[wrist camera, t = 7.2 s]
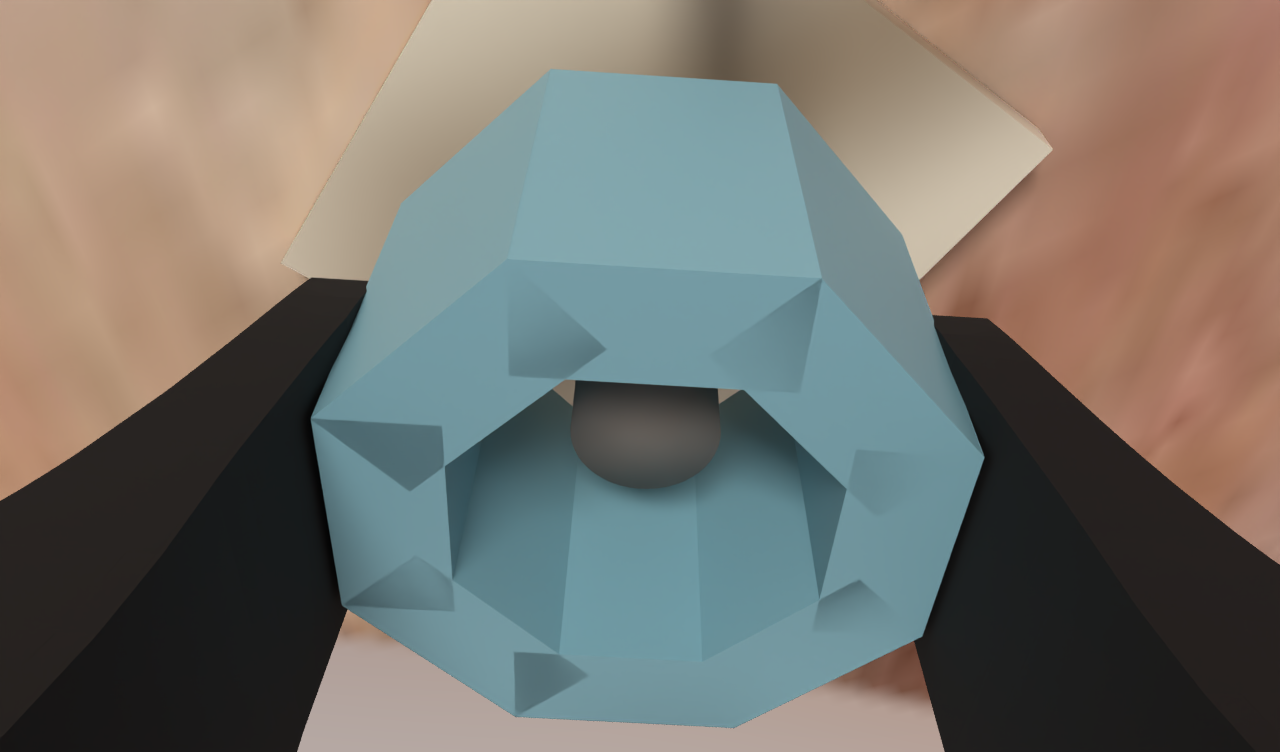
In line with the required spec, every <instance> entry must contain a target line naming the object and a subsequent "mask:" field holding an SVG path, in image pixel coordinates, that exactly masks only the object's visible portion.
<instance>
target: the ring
mask: <svg viewBox="0 0 1280 752" xmlns="http://www.w3.org/2000/svg"><path fill="white" fill-rule="evenodd" d="M366 289H367V292H366V294H365V297H364V299H363V301H362V304H361V306H360V309H359V311H358V313H357V316H356V318H355V320H354V323H353V325H352V328H351V330H350V332H349V335H348V337H347V339H346V341H345V343H344V345H343V347H342V349H341V351H340V353H339V355H338V357H337V359H336V361H335V363H334V365H333V366H332V369H331V371H330V374H329V376H328V378H327V381H326V383H325V385H324V388H323V390H322V393H321V395H320V397H319V400H318V402H317V404H316V407H315V409H314V412H313V414H312V416H311V424H312V430H313V436H314V442H315V448H316V454H317V460H318V466H319V472H320V478H321V484H322V490H323V496H324V502H325V508H326V513H327V519H328V525H329V531H330V537H331V543H332V549H333V555H334V561H335V567H336V573H337V579H338V585H339V591H340V597H341V603H342V606H343V607H345V608H347V609H348V610H350V611H351V612H353V613H354V614H356V615H357V616H359V617H361V618H362V619H364V620H365V621H367V622H368V623H370V624H371V625H373V626H375V627H376V628H378V629H379V630H381V631H382V632H384V633H385V634H387V635H389V636H390V637H392V638H393V639H395V640H396V641H398V642H400V643H401V644H403V645H404V646H406V647H407V648H409V649H410V650H412V651H414V652H415V653H417V654H418V655H420V656H421V657H423V658H424V659H426V660H428V661H429V662H431V663H432V664H434V665H436V666H437V667H438V668H440V669H442V670H443V671H445V672H446V673H448V674H449V675H451V676H452V677H454V678H456V679H457V680H459V681H460V682H462V683H463V684H465V685H467V686H468V687H470V688H472V689H473V690H474V691H476V692H477V693H479V694H481V695H482V696H484V697H485V698H487V699H488V700H490V701H491V702H493V703H495V704H496V705H498V706H499V707H501V708H502V709H504V710H506V711H507V712H509V713H510V714H512V715H513V716H515V717H529V718H549V719H569V720H587V721H607V722H627V723H628V722H629V723H646V724H666V725H685V726H705V727H725V728H735V727H737V726H739V725H741V724H743V723H746V722H747V721H750V720H752V719H754V718H756V717H758V716H760V715H762V714H764V713H766V712H768V711H770V710H772V709H774V708H776V707H778V706H780V705H782V704H785V703H787V702H789V701H791V700H793V699H795V698H797V697H799V696H801V695H803V694H805V693H807V692H809V691H811V690H813V689H815V688H817V687H819V686H822V685H824V684H826V683H828V682H830V681H832V680H834V679H836V678H838V677H840V676H842V675H844V674H846V673H848V672H850V671H852V670H854V669H856V668H859V667H861V666H863V665H865V664H867V663H869V662H871V661H873V660H875V659H877V658H879V657H881V656H883V655H885V654H887V653H889V652H891V651H893V650H896V649H898V648H900V647H902V646H904V645H906V644H908V643H910V642H912V641H914V640H916V639H918V638H920V637H922V636H923V633H924V630H925V627H926V624H927V621H928V618H929V616H930V613H931V610H932V607H933V604H934V601H935V598H936V595H937V593H938V590H939V587H940V584H941V581H942V578H943V575H944V572H945V570H946V567H947V564H948V561H949V558H950V555H951V552H952V549H953V547H954V544H955V541H956V538H957V535H958V532H959V529H960V526H961V523H962V521H963V518H964V515H965V512H966V509H967V506H968V503H969V500H970V498H971V495H972V492H973V489H974V486H975V483H976V480H977V477H978V475H979V472H980V469H981V466H982V463H983V460H984V458H985V457H984V454H983V452H982V449H981V446H980V444H979V441H978V438H977V436H976V433H975V430H974V427H973V425H972V422H971V419H970V417H969V414H968V411H967V409H966V406H965V404H964V401H963V399H962V397H961V394H960V392H959V390H958V387H957V385H956V383H955V380H954V378H953V376H952V373H951V371H950V368H949V365H948V363H947V360H946V357H945V354H944V352H943V349H942V346H941V344H940V341H939V338H938V335H937V333H936V330H935V327H934V319H933V317H932V314H931V311H930V308H929V306H928V303H927V300H926V298H925V295H924V292H923V290H922V287H921V284H920V281H919V279H918V276H917V273H916V271H915V268H914V265H913V262H912V260H911V257H910V254H909V252H908V249H907V246H906V244H905V241H904V238H903V235H902V234H901V232H900V231H899V230H898V229H897V228H896V226H895V225H894V224H893V223H892V222H891V220H890V219H889V218H888V217H887V216H886V214H885V213H884V212H883V211H882V210H881V208H880V207H879V206H878V205H877V204H876V202H875V201H874V200H873V199H872V198H871V196H870V195H869V194H868V193H867V192H866V190H865V189H864V188H863V187H862V185H861V184H860V183H859V182H858V181H857V179H856V178H855V177H854V176H853V175H852V173H851V172H850V171H849V170H848V169H847V167H846V166H845V165H844V164H843V163H842V161H841V160H840V159H839V158H838V157H837V155H836V154H835V153H834V152H833V151H832V149H831V148H830V147H829V146H828V145H827V143H826V142H825V141H824V140H823V139H822V137H821V136H820V135H819V134H818V133H817V131H816V130H815V129H814V128H813V126H812V125H811V124H810V123H809V122H808V120H807V119H806V118H805V117H804V116H803V114H802V113H801V112H800V111H799V110H798V108H797V107H796V106H795V105H794V104H793V102H792V101H791V100H790V99H789V98H788V96H787V95H786V94H785V93H784V92H783V90H782V89H781V88H780V87H779V86H778V84H772V83H757V82H742V81H727V80H711V79H696V78H681V77H666V76H651V75H635V74H620V73H605V72H590V71H574V70H559V69H550V70H549V71H548V72H547V73H546V74H544V75H543V76H542V77H541V78H540V79H539V80H538V81H537V82H536V83H534V84H533V85H532V86H531V87H530V88H529V89H528V90H527V91H526V92H524V93H523V94H522V95H521V96H520V97H519V98H518V99H517V100H516V101H514V102H513V103H512V104H511V105H510V106H509V107H508V108H507V109H506V110H504V111H503V112H502V113H501V114H500V115H499V116H498V117H497V118H495V119H494V120H493V121H492V122H491V123H490V124H489V125H488V126H487V127H485V128H484V129H483V130H482V131H481V132H480V133H479V134H478V135H477V136H475V137H474V138H473V139H472V140H471V141H470V142H469V143H468V144H467V145H465V146H464V147H463V148H462V149H461V150H460V151H459V152H458V153H457V154H455V155H454V156H453V157H452V158H451V159H450V160H449V161H448V162H447V163H445V164H444V165H443V166H442V167H441V168H440V169H439V170H438V171H436V172H435V173H434V174H433V175H432V176H431V177H430V178H429V179H428V180H426V181H425V182H424V183H423V184H422V185H421V186H420V187H419V188H418V189H416V190H415V191H414V192H413V193H412V194H411V195H410V196H409V197H408V198H406V199H405V200H404V201H403V202H402V203H401V205H400V208H399V210H398V212H397V215H396V217H395V219H394V222H393V224H392V227H391V229H390V231H389V234H388V236H387V238H386V241H385V243H384V245H383V248H382V250H381V253H380V255H379V257H378V260H377V262H376V264H375V267H374V269H373V272H372V274H371V276H370V279H369V281H368V283H367V286H366ZM565 379H567V380H584V381H601V382H618V383H635V384H652V385H669V386H686V387H703V388H720V389H737V390H740V391H738V392H736V393H735V394H733V395H732V396H730V397H729V398H727V399H726V400H724V401H723V402H721V403H720V404H719V413H720V427H721V436H720V442H719V446H718V449H717V451H716V453H715V455H714V457H713V458H712V460H711V461H710V462H709V463H708V465H707V466H706V467H705V468H704V469H702V470H701V471H700V472H699V473H697V474H696V475H694V476H693V477H691V478H689V479H687V480H686V481H683V482H681V483H678V484H676V485H672V486H668V487H663V488H656V489H637V488H629V487H625V486H620V485H617V484H614V483H612V482H609V481H607V480H605V479H603V478H601V477H600V476H598V475H596V474H595V473H594V472H592V471H591V470H590V469H589V468H588V467H587V466H586V465H585V464H584V463H583V462H582V461H581V460H580V458H579V457H578V455H577V453H576V452H575V450H574V447H573V444H572V440H571V433H570V427H571V418H572V409H573V406H572V405H571V404H569V403H568V402H567V401H566V400H565V399H564V398H562V397H561V396H560V395H559V394H558V393H557V392H555V391H554V390H553V388H554V387H555V386H557V385H558V384H560V383H561V382H562V381H564V380H565Z"/></svg>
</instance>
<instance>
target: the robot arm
mask: <svg viewBox="0 0 1280 752" xmlns="http://www.w3.org/2000/svg"><path fill="white" fill-rule="evenodd" d="M367 283H368V281H363V280H346V279H330V278H314V277H312V278H310V279H309V280H308V281H306V282H305V283H303V284H302V285H301V286H299V287H298V288H297V289H295V290H294V291H293V292H291V293H290V294H289V295H288V296H286V297H285V298H284V299H283V300H281V301H280V302H279V303H278V304H276V305H275V306H274V307H273V308H271V309H270V310H269V311H268V312H266V313H265V314H264V315H263V316H261V317H260V318H259V319H258V320H257V321H255V322H254V323H253V324H252V325H250V326H249V327H248V328H247V329H245V330H244V331H243V332H242V333H240V334H239V335H238V336H237V337H235V338H234V339H233V340H232V341H230V342H229V343H228V344H227V345H225V346H224V347H223V348H221V349H220V350H219V351H218V352H216V353H215V354H214V355H212V356H211V357H210V358H209V359H207V360H206V361H205V362H203V363H202V364H201V365H200V366H198V367H197V368H196V369H194V370H193V371H192V372H190V373H189V374H188V375H187V376H185V377H184V378H183V379H181V380H180V381H179V382H178V383H176V384H175V385H174V386H172V387H171V388H170V389H168V390H167V391H166V392H164V393H163V394H162V395H160V396H159V397H157V398H156V399H154V400H153V401H152V402H150V403H149V404H147V405H146V406H144V407H143V408H142V409H140V410H139V411H137V412H136V413H134V414H133V415H132V416H130V417H129V418H127V419H126V420H124V421H123V422H122V423H120V424H119V425H117V426H116V427H114V428H113V429H112V430H110V431H109V432H107V433H106V434H104V435H103V436H102V437H100V438H99V439H97V440H96V441H94V442H93V443H92V444H90V445H89V446H87V447H86V448H84V449H83V450H82V451H80V452H79V453H77V454H76V455H74V456H73V457H71V458H70V459H68V460H66V461H65V462H63V463H62V464H60V465H59V466H57V467H56V468H54V469H52V470H51V471H49V472H48V473H46V474H44V475H43V476H41V477H40V478H38V479H36V480H35V481H33V482H31V483H30V484H28V485H27V486H25V487H23V488H22V489H20V490H18V491H17V492H15V493H13V494H11V495H10V496H8V497H6V498H5V499H3V500H1V501H0V752H297V750H298V747H299V744H300V741H301V737H302V734H303V731H304V728H305V725H306V723H307V720H308V717H309V714H310V711H311V709H312V706H313V703H314V700H315V698H316V695H317V692H318V689H319V687H320V684H321V681H322V678H323V676H324V672H325V670H326V667H327V664H328V662H329V659H330V656H331V653H332V651H333V648H334V645H335V642H336V640H337V637H338V634H339V631H340V629H341V626H342V623H343V620H344V617H345V615H346V612H347V608H345V607H343V606H342V603H341V597H340V591H339V585H338V579H337V573H336V567H335V561H334V555H333V549H332V543H331V537H330V531H329V525H328V519H327V513H326V508H325V502H324V496H323V490H322V484H321V478H320V472H319V466H318V460H317V454H316V448H315V442H314V436H313V430H312V424H311V416H312V414H313V412H314V409H315V407H316V404H317V402H318V400H319V397H320V395H321V393H322V390H323V388H324V385H325V383H326V381H327V378H328V376H329V374H330V371H331V369H332V366H333V365H334V363H335V361H336V359H337V357H338V355H339V353H340V351H341V349H342V347H343V345H344V343H345V341H346V339H347V337H348V335H349V332H350V330H351V328H352V325H353V323H354V320H355V318H356V316H357V313H358V311H359V309H360V306H361V304H362V301H363V299H364V297H365V294H366V292H367V289H366V286H367ZM932 317H933V319H934V327H935V330H936V333H937V335H938V338H939V341H940V344H941V346H942V349H943V352H944V354H945V357H946V360H947V363H948V365H949V368H950V371H951V373H952V376H953V378H954V380H955V383H956V385H957V387H958V390H959V392H960V394H961V397H962V399H963V401H964V404H965V406H966V409H967V411H968V414H969V417H970V419H971V422H972V425H973V427H974V430H975V433H976V436H977V438H978V441H979V444H980V446H981V449H982V452H983V454H984V457H985V458H984V460H983V463H982V466H981V469H980V472H979V475H978V477H977V480H976V483H975V486H974V489H973V492H972V495H971V498H970V500H969V503H968V506H967V509H966V512H965V515H964V518H963V521H962V523H961V526H960V529H959V532H958V535H957V538H956V541H955V544H954V547H953V549H952V552H951V555H950V558H949V561H948V564H947V567H946V570H945V572H944V575H943V578H942V581H941V584H940V587H939V590H938V593H937V595H936V598H935V601H934V604H933V607H932V610H931V613H930V616H929V618H928V621H927V624H926V627H925V630H924V633H923V636H922V637H920V638H918V639H916V640H914V642H915V646H916V649H917V653H918V657H919V660H920V664H921V667H922V671H923V675H924V678H925V682H926V686H927V689H928V693H929V696H930V700H931V704H932V707H933V711H934V715H935V718H936V722H937V725H938V729H939V733H940V736H941V740H942V744H943V747H944V751H945V752H1280V565H1279V564H1278V563H1276V562H1275V561H1273V560H1272V559H1271V558H1269V557H1268V556H1267V555H1265V554H1264V553H1263V552H1261V551H1260V550H1258V549H1257V548H1256V547H1254V546H1253V545H1252V544H1250V543H1249V542H1248V541H1246V540H1245V539H1244V538H1242V537H1241V536H1240V535H1238V534H1237V533H1236V532H1234V531H1233V530H1232V529H1230V528H1229V527H1228V526H1227V525H1225V524H1224V523H1223V522H1222V521H1220V520H1219V519H1218V518H1217V517H1215V516H1214V515H1213V514H1212V513H1210V512H1209V511H1208V510H1206V509H1205V508H1204V507H1203V506H1201V505H1200V504H1199V503H1198V502H1196V501H1195V500H1194V499H1193V498H1191V497H1190V496H1189V495H1188V494H1186V493H1185V492H1184V491H1183V490H1181V489H1180V488H1179V487H1178V486H1176V485H1175V484H1174V483H1173V482H1171V481H1170V480H1169V479H1168V478H1167V477H1166V476H1164V475H1163V474H1162V473H1161V472H1160V471H1158V470H1157V469H1156V468H1155V467H1154V466H1152V465H1151V464H1150V463H1149V462H1148V461H1147V460H1145V459H1144V458H1143V457H1142V456H1141V455H1140V454H1138V453H1137V452H1136V451H1135V450H1134V449H1133V448H1131V447H1130V446H1129V445H1128V444H1127V443H1126V442H1125V441H1123V440H1122V439H1121V438H1120V437H1119V436H1118V435H1117V434H1116V433H1114V432H1113V431H1112V430H1111V429H1110V428H1109V427H1108V426H1107V425H1105V424H1104V423H1103V422H1102V421H1101V420H1100V419H1099V418H1098V417H1097V416H1095V415H1094V414H1093V413H1092V412H1091V411H1090V410H1089V409H1088V408H1087V407H1086V406H1084V405H1083V404H1082V403H1081V402H1080V401H1079V400H1078V399H1077V398H1076V397H1075V396H1073V395H1072V394H1071V393H1070V392H1069V391H1068V390H1067V389H1066V388H1065V387H1064V386H1063V385H1062V384H1060V383H1059V382H1058V381H1057V380H1056V379H1055V378H1054V377H1053V376H1052V375H1051V374H1050V373H1049V372H1047V371H1046V370H1045V369H1044V368H1043V367H1042V366H1041V365H1040V364H1039V363H1038V362H1037V361H1036V360H1034V359H1033V358H1032V357H1031V356H1030V355H1029V354H1028V353H1027V352H1026V351H1025V350H1024V349H1022V348H1021V347H1020V346H1019V345H1018V344H1017V343H1016V342H1015V341H1014V340H1012V339H1011V338H1010V337H1009V336H1008V335H1007V334H1006V333H1004V332H1003V331H1002V330H1001V329H1000V328H998V327H997V326H996V325H995V324H993V323H992V322H991V321H990V320H988V319H986V318H969V317H953V316H937V315H932Z"/></svg>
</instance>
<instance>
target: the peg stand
mask: <svg viewBox="0 0 1280 752" xmlns="http://www.w3.org/2000/svg"><path fill="white" fill-rule="evenodd" d="M550 69H559V70H574V71H590V72H605V73H620V74H635V75H651V76H666V77H681V78H696V79H711V80H727V81H742V82H757V83H772V84H778V86H779V87H780V88H781V89H782V90H783V92H784V93H785V94H786V95H787V96H788V98H789V99H790V100H791V101H792V102H793V104H794V105H795V106H796V107H797V108H798V110H799V111H800V112H801V113H802V114H803V116H804V117H805V118H806V119H807V120H808V122H809V123H810V124H811V125H812V126H813V128H814V129H815V130H816V131H817V133H818V134H819V135H820V136H821V137H822V139H823V140H824V141H825V142H826V143H827V145H828V146H829V147H830V148H831V149H832V151H833V152H834V153H835V154H836V155H837V157H838V158H839V159H840V160H841V161H842V163H843V164H844V165H845V166H846V167H847V169H848V170H849V171H850V172H851V173H852V175H853V176H854V177H855V178H856V179H857V181H858V182H859V183H860V184H861V185H862V187H863V188H864V189H865V190H866V192H867V193H868V194H869V195H870V196H871V198H872V199H873V200H874V201H875V202H876V204H877V205H878V206H879V207H880V208H881V210H882V211H883V212H884V213H885V214H886V216H887V217H888V218H889V219H890V220H891V222H892V223H893V224H894V225H895V226H896V228H897V229H898V230H899V231H900V232H901V234H902V235H903V238H904V241H905V244H906V246H907V249H908V252H909V254H910V257H911V260H912V262H913V265H914V268H915V271H916V273H917V276H918V279H919V280H920V279H921V278H922V277H923V276H924V275H925V274H926V273H927V272H928V271H929V270H930V269H931V268H932V267H933V266H934V265H935V264H936V263H937V262H938V261H939V260H940V259H941V258H942V257H943V256H944V255H945V254H947V253H948V252H949V251H950V250H951V249H952V248H953V247H954V246H955V245H956V244H957V243H958V242H959V241H960V240H961V239H962V238H963V237H964V236H965V235H966V234H967V233H968V232H969V231H970V230H971V229H972V228H973V227H974V226H975V225H976V224H977V223H978V222H979V221H980V220H981V219H982V218H983V217H984V216H985V215H986V214H987V213H989V212H990V211H991V210H992V209H993V208H994V207H995V206H996V205H997V204H998V203H999V202H1000V201H1001V200H1002V199H1003V198H1004V197H1005V196H1006V195H1007V194H1008V193H1009V192H1010V191H1011V190H1012V189H1013V188H1014V187H1015V186H1016V185H1017V184H1018V183H1019V182H1020V181H1021V180H1022V179H1023V178H1024V177H1025V176H1026V175H1027V174H1028V173H1029V172H1031V171H1032V170H1033V169H1034V168H1035V167H1036V166H1037V165H1038V164H1039V163H1040V162H1041V161H1042V160H1043V159H1044V158H1045V157H1046V156H1047V155H1048V154H1049V153H1050V152H1051V151H1052V150H1053V149H1052V147H1051V146H1050V144H1049V143H1048V141H1047V140H1046V139H1045V137H1044V136H1043V134H1042V133H1041V131H1040V130H1039V129H1038V128H1037V127H1036V126H1035V125H1033V124H1032V123H1031V122H1030V121H1028V120H1027V119H1026V118H1024V117H1023V116H1022V115H1021V114H1019V113H1018V112H1017V111H1016V110H1014V109H1013V108H1012V107H1011V106H1009V105H1008V104H1007V103H1006V102H1004V101H1003V100H1002V99H1000V98H999V97H998V96H997V95H995V94H994V93H993V92H992V91H990V90H989V89H988V88H987V87H985V86H984V85H983V84H982V83H980V82H979V81H978V80H977V79H975V78H974V77H973V76H971V75H970V74H969V73H968V72H966V71H965V70H964V69H963V68H961V67H960V66H959V65H958V64H956V63H955V62H954V61H953V60H951V59H950V58H949V57H947V56H946V55H945V54H944V53H942V52H941V51H940V50H939V49H937V48H936V47H935V46H934V45H932V44H931V43H930V42H929V41H927V40H926V39H925V38H923V37H922V36H921V35H920V34H918V33H917V32H916V31H915V30H913V29H912V28H911V27H910V26H908V25H907V24H906V23H905V22H903V21H902V20H901V19H900V18H898V17H897V16H896V15H894V14H893V13H892V12H891V11H889V10H888V9H887V8H886V7H884V6H883V5H882V4H881V3H879V2H878V1H877V0H432V1H431V2H430V4H429V6H428V8H427V9H426V11H425V13H424V15H423V16H422V18H421V20H420V22H419V23H418V25H417V27H416V29H415V30H414V32H413V34H412V35H411V37H410V39H409V41H408V42H407V44H406V46H405V48H404V49H403V51H402V53H401V55H400V56H399V58H398V60H397V62H396V63H395V65H394V67H393V69H392V70H391V72H390V74H389V76H388V77H387V79H386V81H385V82H384V84H383V86H382V88H381V89H380V91H379V93H378V95H377V96H376V98H375V100H374V102H373V103H372V105H371V107H370V109H369V110H368V112H367V114H366V116H365V117H364V119H363V121H362V123H361V124H360V126H359V128H358V129H357V131H356V133H355V135H354V136H353V138H352V140H351V142H350V143H349V145H348V147H347V149H346V150H345V152H344V154H343V156H342V157H341V159H340V161H339V163H338V164H337V166H336V168H335V170H334V171H333V173H332V175H331V176H330V178H329V180H328V182H327V183H326V185H325V187H324V189H323V190H322V192H321V194H320V196H319V197H318V199H317V201H316V203H315V204H314V206H313V208H312V210H311V211H310V213H309V215H308V217H307V218H306V220H305V222H304V223H303V225H302V227H301V229H300V230H299V232H298V234H297V236H296V237H295V239H294V241H293V243H292V244H291V246H290V248H289V250H288V252H287V253H286V255H285V257H284V259H283V260H282V262H281V264H283V265H285V266H287V267H288V268H290V269H292V270H294V271H296V272H298V273H300V274H301V275H303V276H305V277H307V278H309V279H310V278H312V277H314V278H330V279H346V280H363V281H369V279H370V276H371V274H372V272H373V269H374V267H375V264H376V262H377V260H378V257H379V255H380V253H381V250H382V248H383V245H384V243H385V241H386V238H387V236H388V234H389V231H390V229H391V227H392V224H393V222H394V219H395V217H396V215H397V212H398V210H399V208H400V205H401V203H402V202H403V201H404V200H405V199H406V198H408V197H409V196H410V195H411V194H412V193H413V192H414V191H415V190H416V189H418V188H419V187H420V186H421V185H422V184H423V183H424V182H425V181H426V180H428V179H429V178H430V177H431V176H432V175H433V174H434V173H435V172H436V171H438V170H439V169H440V168H441V167H442V166H443V165H444V164H445V163H447V162H448V161H449V160H450V159H451V158H452V157H453V156H454V155H455V154H457V153H458V152H459V151H460V150H461V149H462V148H463V147H464V146H465V145H467V144H468V143H469V142H470V141H471V140H472V139H473V138H474V137H475V136H477V135H478V134H479V133H480V132H481V131H482V130H483V129H484V128H485V127H487V126H488V125H489V124H490V123H491V122H492V121H493V120H494V119H495V118H497V117H498V116H499V115H500V114H501V113H502V112H503V111H504V110H506V109H507V108H508V107H509V106H510V105H511V104H512V103H513V102H514V101H516V100H517V99H518V98H519V97H520V96H521V95H522V94H523V93H524V92H526V91H527V90H528V89H529V88H530V87H531V86H532V85H533V84H534V83H536V82H537V81H538V80H539V79H540V78H541V77H542V76H543V75H544V74H546V73H547V72H548V71H549V70H550ZM553 390H554V391H555V392H557V393H558V394H559V395H560V396H561V397H562V398H564V399H565V400H566V401H567V402H568V403H569V404H571V405H572V406H573V409H572V418H571V427H570V433H571V440H572V444H573V447H574V450H575V452H576V453H577V455H578V457H579V458H580V460H581V461H582V462H583V463H584V464H585V465H586V466H587V467H588V468H589V469H590V470H591V471H592V472H594V473H595V474H596V475H598V476H600V477H601V478H603V479H605V480H607V481H609V482H612V483H614V484H617V485H620V486H625V487H629V488H637V489H656V488H663V487H668V486H672V485H676V484H678V483H681V482H683V481H686V480H687V479H689V478H691V477H693V476H694V475H696V474H697V473H699V472H700V471H701V470H702V469H704V468H705V467H706V466H707V465H708V463H709V462H710V461H711V460H712V458H713V457H714V455H715V453H716V451H717V449H718V446H719V442H720V436H721V427H720V413H719V404H720V403H721V402H723V401H724V400H726V399H727V398H729V397H730V396H732V395H733V394H735V393H736V392H738V391H740V390H737V389H720V388H703V387H686V386H669V385H652V384H635V383H618V382H601V381H584V380H567V379H565V380H564V381H562V382H561V383H560V384H558V385H557V386H555V387H554V388H553Z"/></svg>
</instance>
